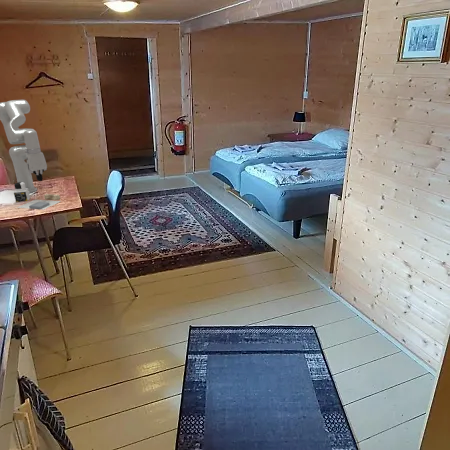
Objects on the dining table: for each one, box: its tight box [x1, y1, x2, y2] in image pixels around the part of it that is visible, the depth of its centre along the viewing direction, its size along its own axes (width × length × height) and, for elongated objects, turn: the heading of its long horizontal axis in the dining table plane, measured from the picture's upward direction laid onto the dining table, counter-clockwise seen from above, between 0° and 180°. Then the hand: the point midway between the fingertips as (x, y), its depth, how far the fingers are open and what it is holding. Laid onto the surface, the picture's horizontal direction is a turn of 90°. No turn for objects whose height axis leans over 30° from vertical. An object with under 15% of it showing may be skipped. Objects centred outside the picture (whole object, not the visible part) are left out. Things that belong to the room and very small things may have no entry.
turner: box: [43, 193, 61, 201], centre depth 260 cm, size 16×5×4 cm, turn 72°
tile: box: [28, 202, 49, 210], centre depth 247 cm, size 2×8×8 cm
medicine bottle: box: [13, 182, 31, 203], centre depth 261 cm, size 7×7×12 cm
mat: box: [16, 199, 61, 210], centre depth 252 cm, size 20×16×1 cm
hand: (40, 180), depth 251 cm, fingers closed
